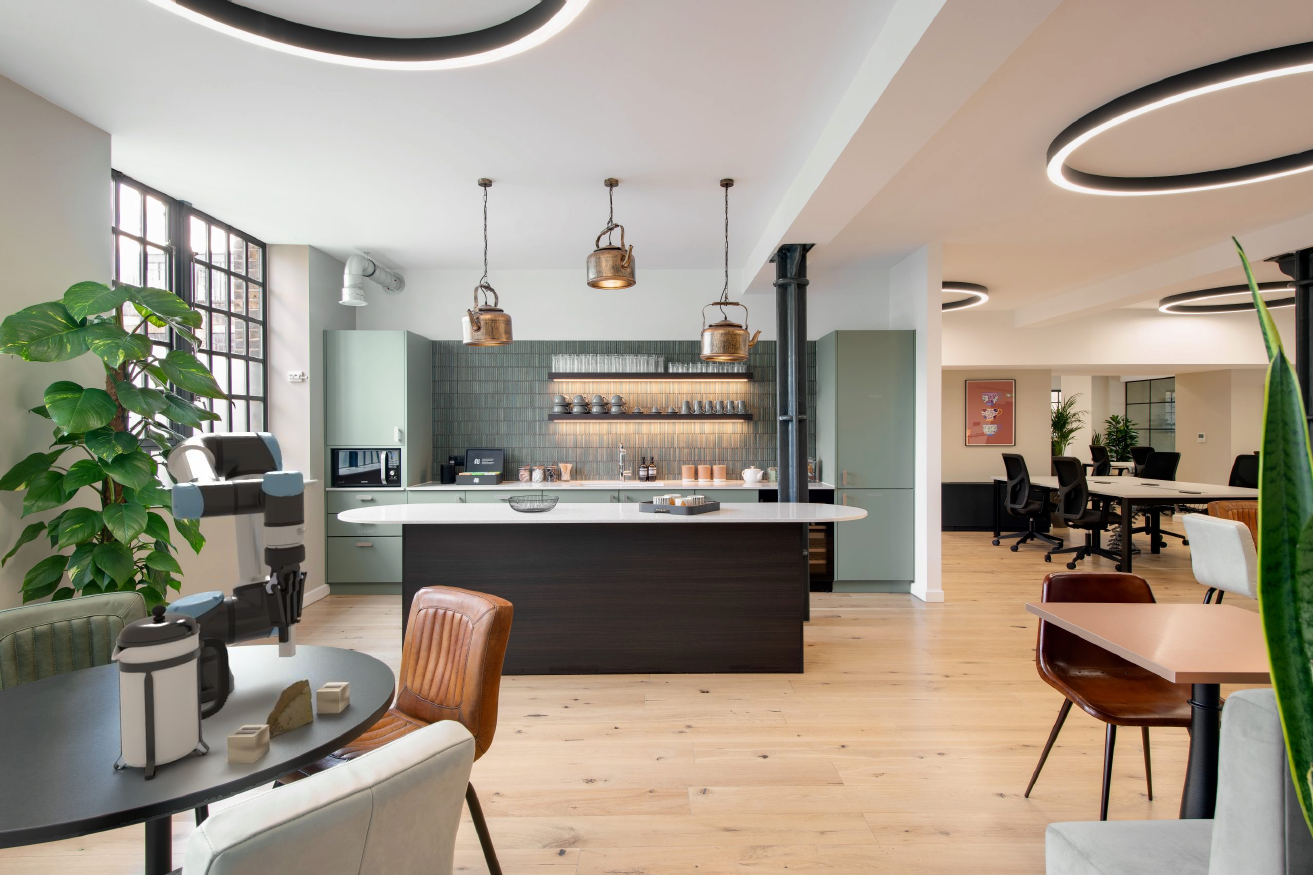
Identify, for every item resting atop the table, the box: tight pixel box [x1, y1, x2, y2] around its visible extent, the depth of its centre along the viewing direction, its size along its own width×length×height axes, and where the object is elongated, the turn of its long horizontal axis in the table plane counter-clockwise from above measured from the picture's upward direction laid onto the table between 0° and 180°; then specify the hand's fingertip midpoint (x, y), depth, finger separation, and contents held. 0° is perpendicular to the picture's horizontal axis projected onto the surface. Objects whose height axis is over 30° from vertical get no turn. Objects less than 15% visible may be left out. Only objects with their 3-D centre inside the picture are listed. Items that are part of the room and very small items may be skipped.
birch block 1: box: [226, 724, 271, 764], centre depth 126 cm, size 5×5×5 cm
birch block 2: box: [315, 681, 351, 714], centre depth 147 cm, size 5×5×5 cm
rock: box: [265, 679, 314, 739], centre depth 138 cm, size 11×9×10 cm
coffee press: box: [111, 604, 230, 781], centre depth 126 cm, size 17×16×30 cm
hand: (287, 655), depth 138 cm, fingers closed
